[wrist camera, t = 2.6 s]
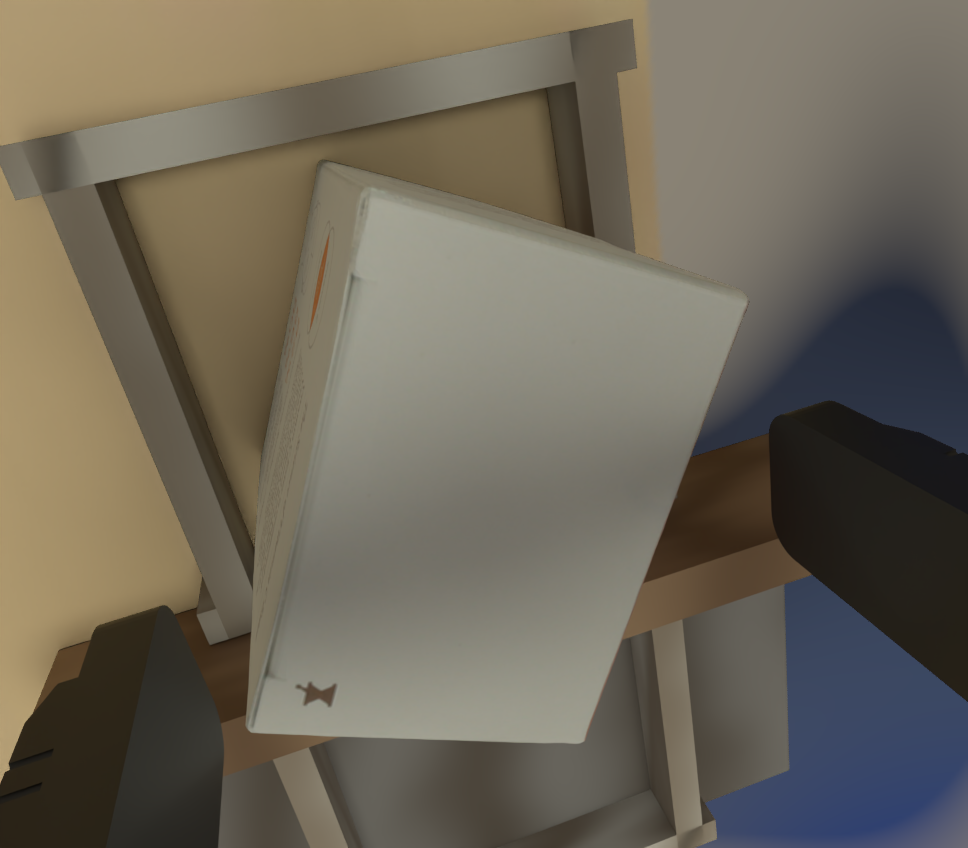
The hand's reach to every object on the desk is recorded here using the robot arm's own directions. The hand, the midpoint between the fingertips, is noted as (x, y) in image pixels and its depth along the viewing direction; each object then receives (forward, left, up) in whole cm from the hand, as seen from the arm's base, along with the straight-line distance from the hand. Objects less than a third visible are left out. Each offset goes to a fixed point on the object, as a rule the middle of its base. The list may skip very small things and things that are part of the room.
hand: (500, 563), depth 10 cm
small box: (0, 0, -12) cm, 12 cm away
